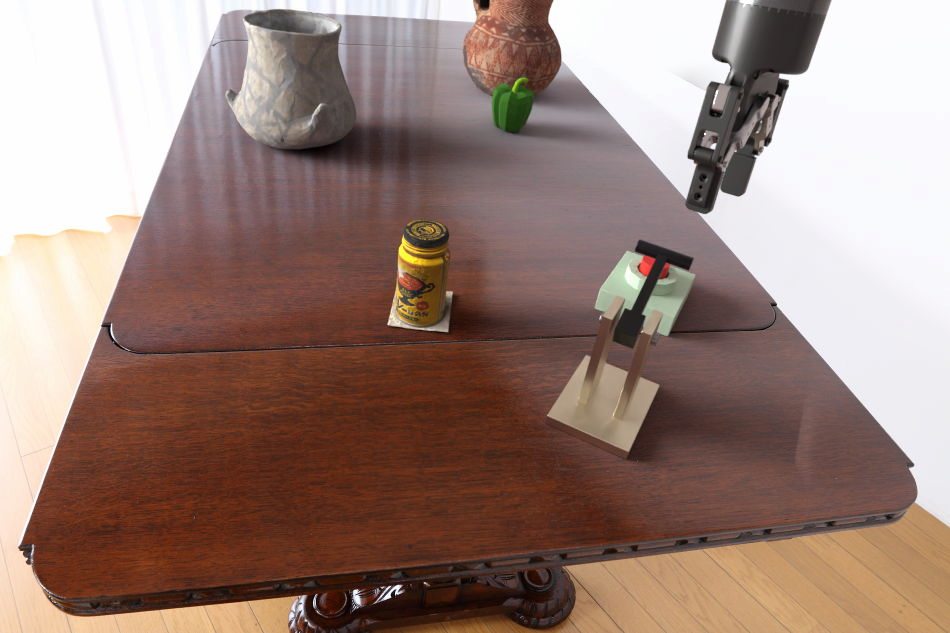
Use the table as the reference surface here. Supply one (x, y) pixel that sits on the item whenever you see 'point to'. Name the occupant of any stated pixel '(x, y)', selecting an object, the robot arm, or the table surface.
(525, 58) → the jug
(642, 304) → the lever
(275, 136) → the vessel
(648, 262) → the stop button
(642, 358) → the bracket
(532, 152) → the table surface
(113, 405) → the table surface
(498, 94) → the bell pepper
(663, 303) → the stop block
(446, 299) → the condiment
